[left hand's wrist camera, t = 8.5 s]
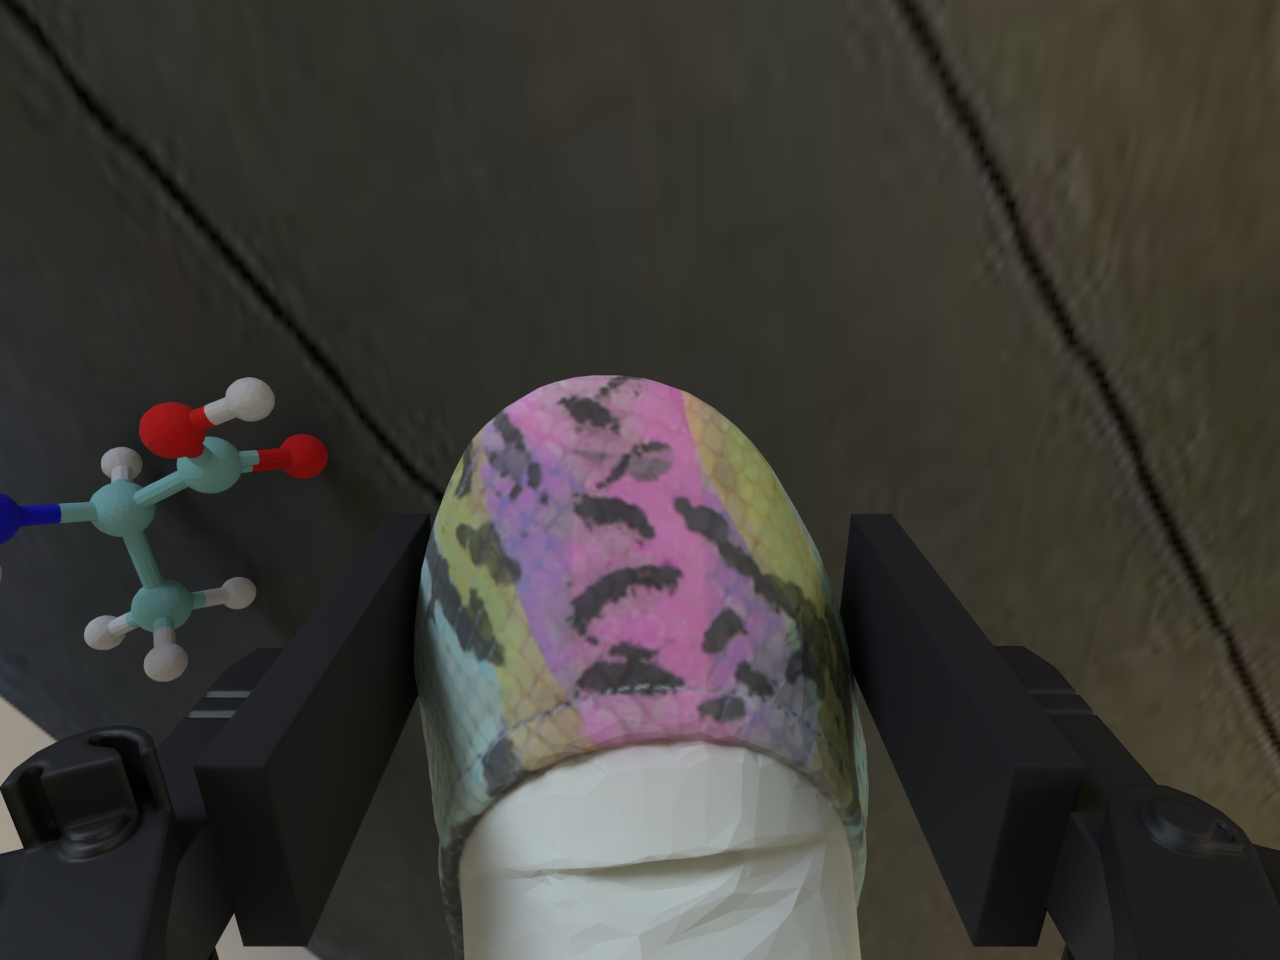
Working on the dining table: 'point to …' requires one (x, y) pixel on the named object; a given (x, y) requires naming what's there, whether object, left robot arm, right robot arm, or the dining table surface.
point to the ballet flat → (636, 692)
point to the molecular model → (133, 506)
